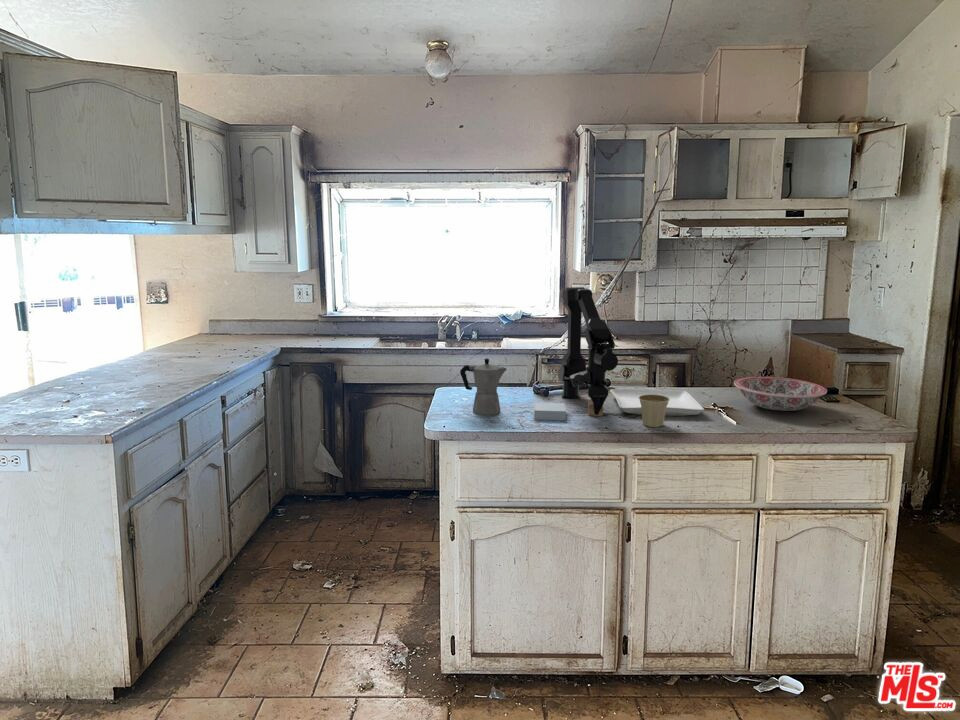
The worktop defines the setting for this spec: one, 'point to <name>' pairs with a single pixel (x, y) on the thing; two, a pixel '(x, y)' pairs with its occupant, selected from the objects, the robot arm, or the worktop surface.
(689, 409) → the square plate
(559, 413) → the base slab
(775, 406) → the ceramic bowl
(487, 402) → the coffeepot
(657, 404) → the flower pot
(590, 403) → the walnut block
